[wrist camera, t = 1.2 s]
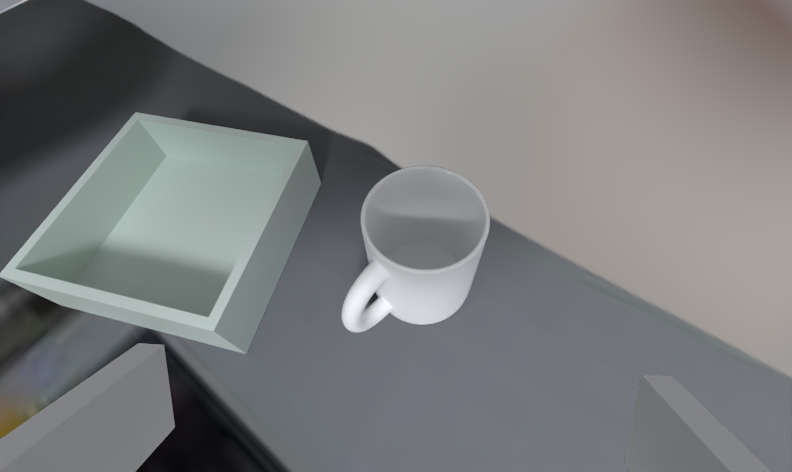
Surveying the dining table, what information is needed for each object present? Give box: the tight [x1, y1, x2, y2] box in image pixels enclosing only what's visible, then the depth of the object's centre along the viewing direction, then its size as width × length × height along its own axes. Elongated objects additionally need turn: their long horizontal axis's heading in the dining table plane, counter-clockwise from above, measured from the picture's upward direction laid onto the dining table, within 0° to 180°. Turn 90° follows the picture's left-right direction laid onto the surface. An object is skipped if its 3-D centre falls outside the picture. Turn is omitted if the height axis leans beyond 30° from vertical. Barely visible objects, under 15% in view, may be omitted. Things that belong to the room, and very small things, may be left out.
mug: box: [342, 166, 490, 332], centre depth 29 cm, size 12×8×10 cm
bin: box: [0, 112, 321, 354], centre depth 34 cm, size 18×18×6 cm
